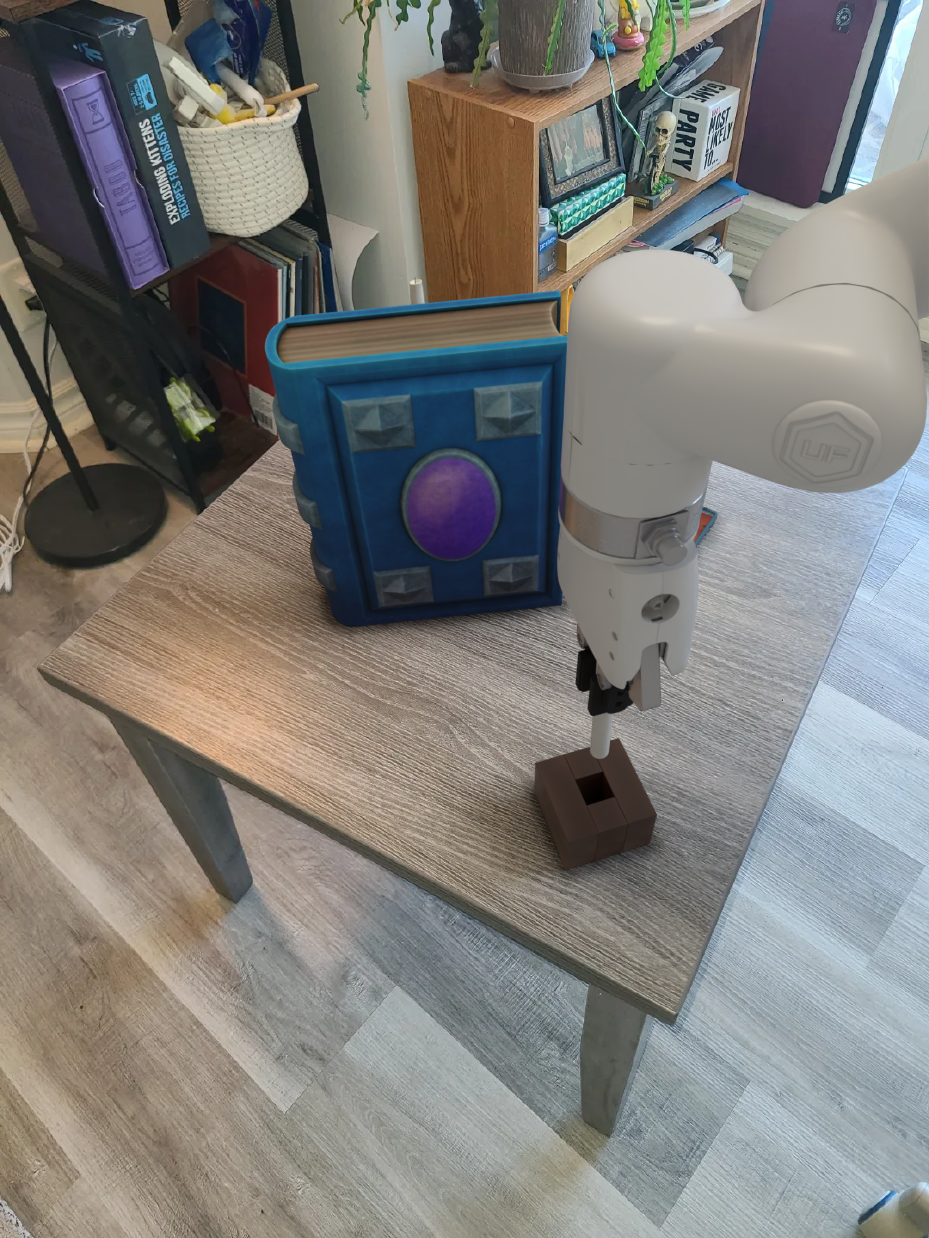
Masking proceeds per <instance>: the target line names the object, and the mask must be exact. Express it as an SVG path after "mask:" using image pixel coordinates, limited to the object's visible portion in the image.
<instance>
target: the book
mask: <svg viewBox="0 0 929 1238" xmlns="http://www.w3.org/2000/svg"><path fill="white" fill-rule="evenodd" d="M561 314H562V294H561V291H560V290H558V289H557V290H549V291H548V290H547V291H539V292H527V293H519V294H518V293H517V294H508V295H507V294H506V295H498V296H487V297H486V296H485V297H477V298H475V297H474V298H466V299H465V298H464V299H456V300H455V299H454V300H446V301H436V302H435V301H434V302H425V303H423V304H413V305H411V304H404V305H391V306H383V307H382V306H381V307H373V308H362V309H351V310H341V311H332V312H321V313H310V314H300V315H299V314H298V315H293V316H290V317H287V318H285V319H282V320H281V321H279V322H278V323H277V324H274V325H273V326H272V328H271V329H270V330H269V331H268V333H267V336H266V338H265V343H264V351H265V355H266V359H267V364H268V368H269V371H270V376H271V379H272V383H273V387H274V390H275V394H274V397H273V399H272V405H271V406H272V407H271V408H272V415H273V419H274V422H275V426H276V429H277V430H276V431H277V433H278V434H277V435H278V437H279V440H280V442H281V443H282V445H283V446H284V447H285V448H287V449H288V450H290V454H291V458H292V462H293V465H294V466H293V467H294V472H293V475H292V481H291V482H292V483H291V484H292V491H293V495H294V499H295V502H296V507H297V511H298V513H299V516H300V518H301V520H302V521H303V522H304V523H305V524H307V525H308V526H309V529H310V534H311V540H310V543H309V556H310V560H311V565H312V568H313V572H314V575H315V578H316V580H317V581H318V583H319V585H321V586H322V587H324V588H325V593H326V597H327V600H328V605H329V608H330V612H331V614H332V617H333V618H334V620H335V621H336V622H338V624H340V625H343V626H345V627H349V628H357V627H367V626H374V625H386V624H394V623H403V622H413V621H415V622H416V621H422V620H423V621H424V620H432V619H443V618H453V617H461V616H469V615H479V614H481V615H482V614H490V613H499V612H509V611H510V612H511V611H518V610H528V609H536V608H537V609H538V608H547V607H557V606H562V605H563V592H562V590H561V587H560V584H559V580H558V570H557V557H558V542H559V532H560V523H559V517H558V511H559V493H560V474H561V454H562V437H563V420H564V398H565V377H566V356H567V336H568V335H567V336H565V335H563V334H561V316H562V315H561Z"/></svg>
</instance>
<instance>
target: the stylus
mask: <svg viewBox="0 0 929 1238" xmlns="http://www.w3.org/2000/svg"><path fill="white" fill-rule="evenodd" d="M597 670H598V662H597V665H596V674H597ZM591 717H592V719H591V730H590V731H591V733H590V745H589V747H590V753H591V755H592V756H593V757H595V758H598V759H602V758H605V757H606V756H607V755H608V753H609V745H610V740H611V735H612V734H611V733H612V725H613V717H614V714H608V713H604V714H600V715H597V716H591Z"/></svg>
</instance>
